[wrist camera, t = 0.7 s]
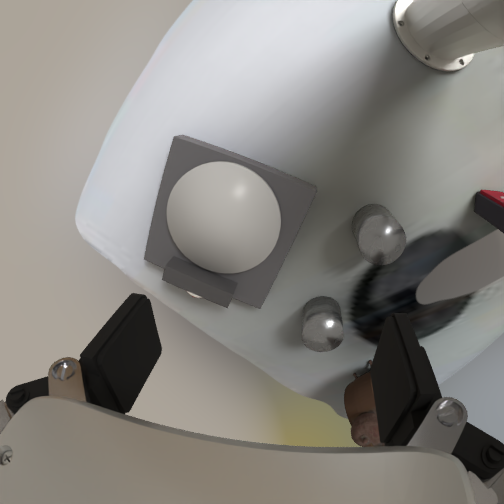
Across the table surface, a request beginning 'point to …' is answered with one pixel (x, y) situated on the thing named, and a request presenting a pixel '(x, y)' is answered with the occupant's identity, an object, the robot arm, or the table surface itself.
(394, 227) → the cylinder
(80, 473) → the robot arm
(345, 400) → the alarm clock
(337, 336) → the cylinder
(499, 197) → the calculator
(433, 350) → the table surface
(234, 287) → the scale
